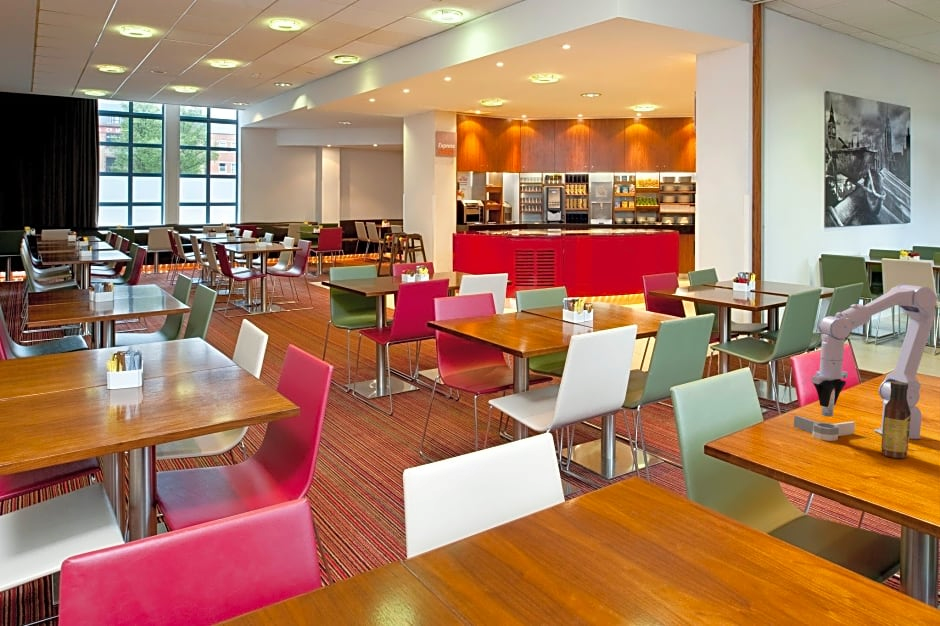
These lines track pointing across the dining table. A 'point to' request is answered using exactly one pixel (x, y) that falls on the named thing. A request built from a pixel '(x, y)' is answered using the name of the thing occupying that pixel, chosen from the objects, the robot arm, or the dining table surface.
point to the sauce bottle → (896, 422)
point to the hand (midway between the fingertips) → (827, 405)
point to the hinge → (824, 428)
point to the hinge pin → (829, 406)
